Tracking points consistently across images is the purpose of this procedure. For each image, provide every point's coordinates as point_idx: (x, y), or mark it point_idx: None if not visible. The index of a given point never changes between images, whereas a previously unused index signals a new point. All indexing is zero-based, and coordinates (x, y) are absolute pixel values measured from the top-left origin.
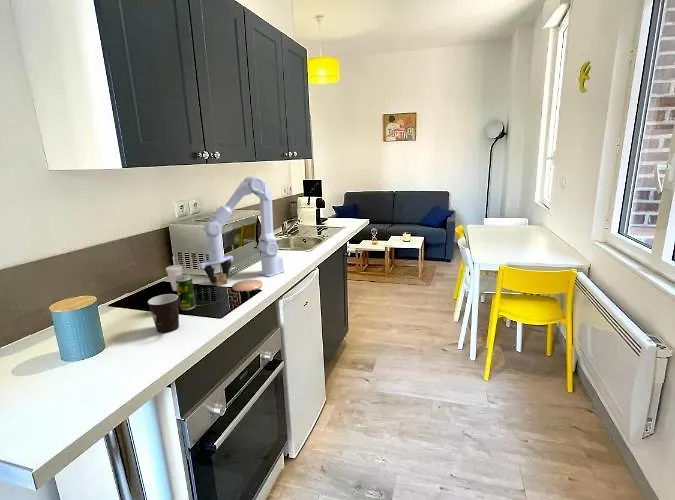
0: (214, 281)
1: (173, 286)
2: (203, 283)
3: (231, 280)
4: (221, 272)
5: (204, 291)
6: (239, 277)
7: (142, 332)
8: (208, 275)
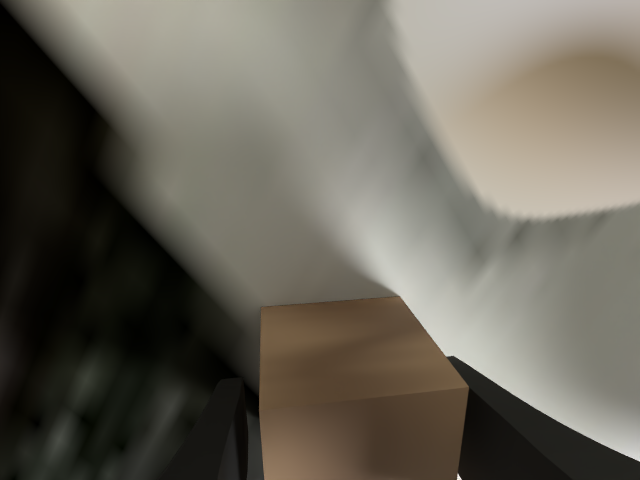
0: (246, 456)
1: None
2: (198, 163)
3: (489, 350)
4: (461, 429)
5: (76, 455)
6: (604, 327)
7: None
8: (177, 478)
